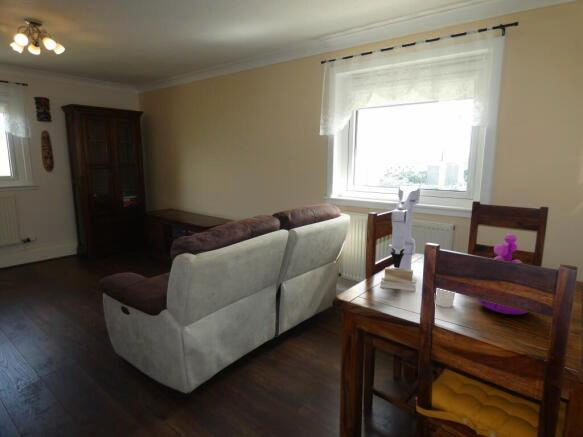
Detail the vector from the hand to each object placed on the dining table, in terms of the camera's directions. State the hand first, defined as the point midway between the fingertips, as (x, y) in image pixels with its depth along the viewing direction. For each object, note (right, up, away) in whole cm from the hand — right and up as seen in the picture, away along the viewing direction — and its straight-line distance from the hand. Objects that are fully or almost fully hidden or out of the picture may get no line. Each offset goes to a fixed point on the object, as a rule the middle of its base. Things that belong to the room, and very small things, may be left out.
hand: (397, 265), depth 156 cm
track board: (0, -10, -1) cm, 10 cm away
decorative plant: (+33, -14, -25) cm, 44 cm away
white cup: (+12, -13, -20) cm, 27 cm away
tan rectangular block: (0, -9, -1) cm, 9 cm away
